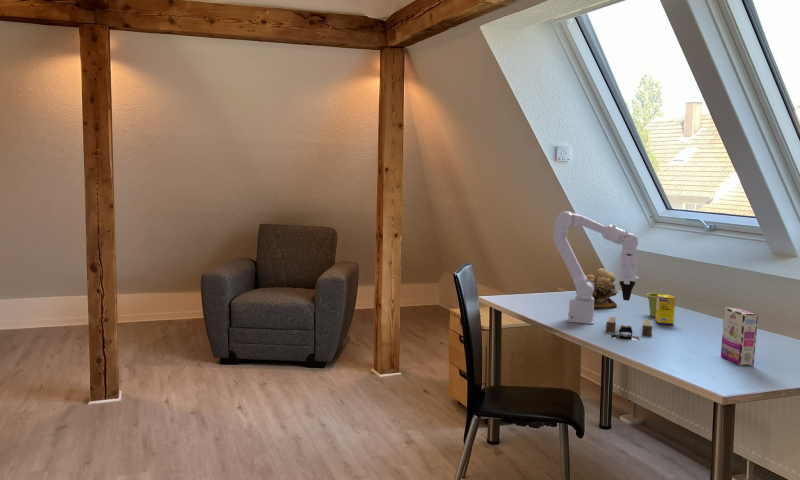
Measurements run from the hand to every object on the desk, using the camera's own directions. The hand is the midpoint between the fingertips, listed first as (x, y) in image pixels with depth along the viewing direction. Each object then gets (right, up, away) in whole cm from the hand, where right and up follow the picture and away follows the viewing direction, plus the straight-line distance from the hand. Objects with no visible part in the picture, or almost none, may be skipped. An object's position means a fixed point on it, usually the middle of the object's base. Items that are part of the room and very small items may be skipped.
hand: (626, 300), depth 264 cm
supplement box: (+17, -10, +6) cm, 20 cm away
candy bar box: (+20, -16, -46) cm, 52 cm away
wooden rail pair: (-1, -11, -6) cm, 12 cm away
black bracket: (-6, -13, -18) cm, 22 cm away
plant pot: (+19, -8, +20) cm, 29 cm away
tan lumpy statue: (0, -6, +37) cm, 37 cm away
